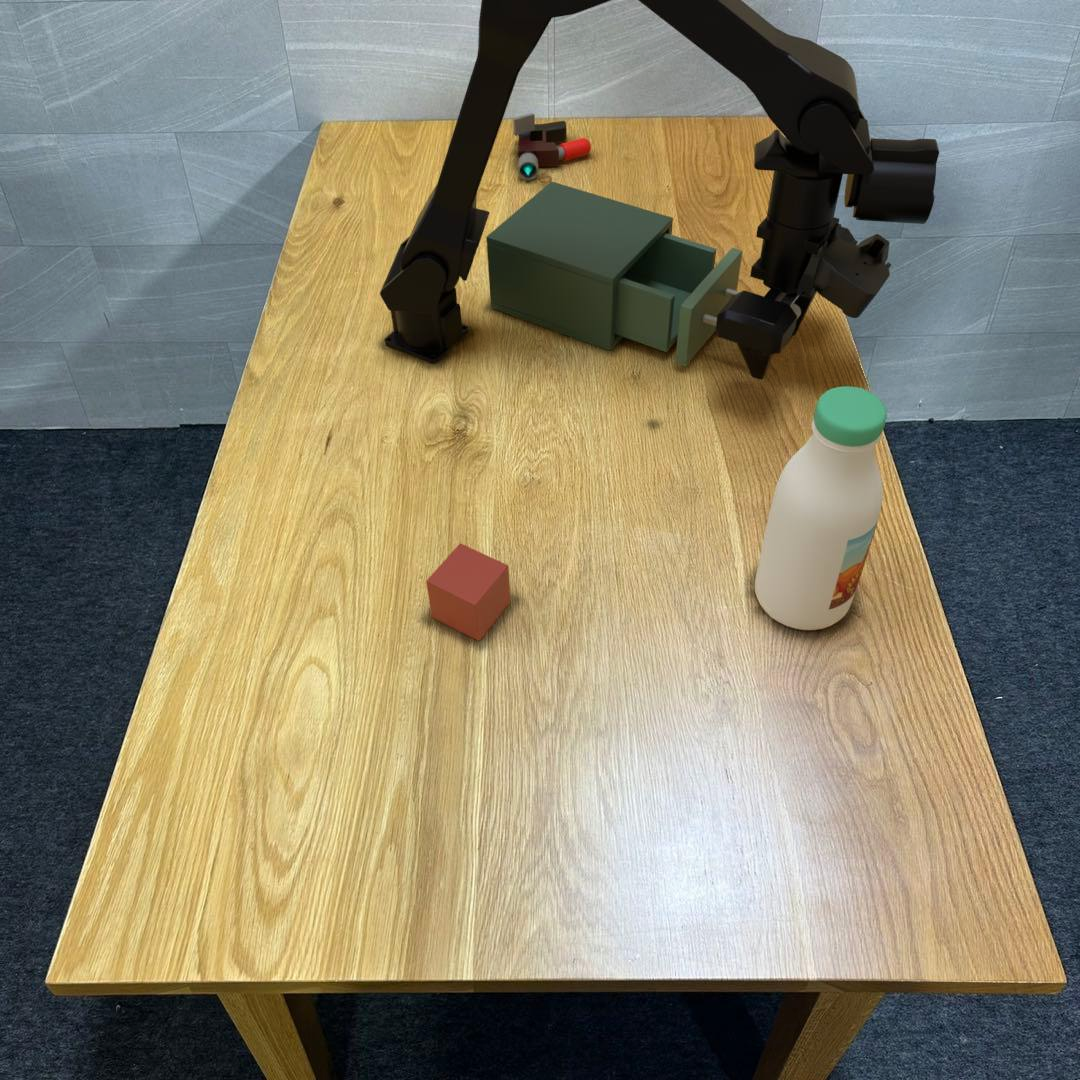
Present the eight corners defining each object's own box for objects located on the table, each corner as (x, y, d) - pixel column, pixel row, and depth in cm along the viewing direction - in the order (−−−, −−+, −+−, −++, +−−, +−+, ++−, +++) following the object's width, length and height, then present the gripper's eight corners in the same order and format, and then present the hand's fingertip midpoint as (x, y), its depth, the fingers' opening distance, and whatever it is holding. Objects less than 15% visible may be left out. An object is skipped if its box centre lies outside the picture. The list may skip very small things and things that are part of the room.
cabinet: (667, 289, 112) (673, 217, 105) (610, 351, 105) (613, 278, 98) (552, 251, 117) (551, 180, 111) (490, 308, 110) (485, 236, 104)
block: (431, 617, 82) (425, 580, 79) (464, 579, 85) (460, 542, 82) (479, 641, 81) (475, 605, 77) (511, 602, 83) (508, 565, 80)
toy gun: (514, 185, 127) (513, 147, 123) (514, 138, 135) (513, 101, 131) (593, 183, 127) (594, 145, 123) (588, 136, 135) (589, 99, 131)
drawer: (805, 330, 105) (817, 272, 100) (759, 393, 99) (769, 335, 94) (621, 270, 113) (623, 214, 108) (567, 324, 106) (567, 267, 101)
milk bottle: (791, 648, 80) (843, 460, 65) (734, 580, 84) (770, 390, 70) (870, 610, 82) (938, 421, 67) (810, 546, 87) (861, 356, 72)
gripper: (850, 293, 82) (815, 438, 94) (925, 188, 93) (885, 330, 104) (722, 254, 86) (704, 398, 98) (808, 157, 97) (782, 298, 108)
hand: (774, 355), depth 102 cm, fingers open, 8 cm apart
